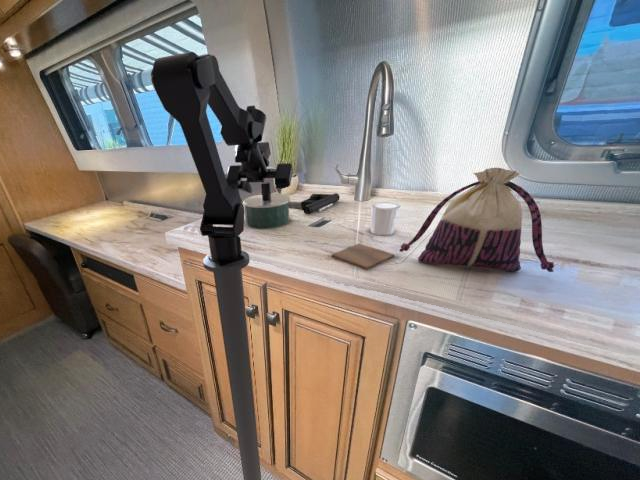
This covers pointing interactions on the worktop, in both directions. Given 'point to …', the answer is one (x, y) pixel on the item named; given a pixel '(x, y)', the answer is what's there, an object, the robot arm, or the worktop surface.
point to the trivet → (363, 256)
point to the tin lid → (266, 198)
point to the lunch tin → (267, 216)
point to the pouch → (483, 226)
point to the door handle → (316, 202)
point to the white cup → (384, 218)
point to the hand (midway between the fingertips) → (265, 192)
